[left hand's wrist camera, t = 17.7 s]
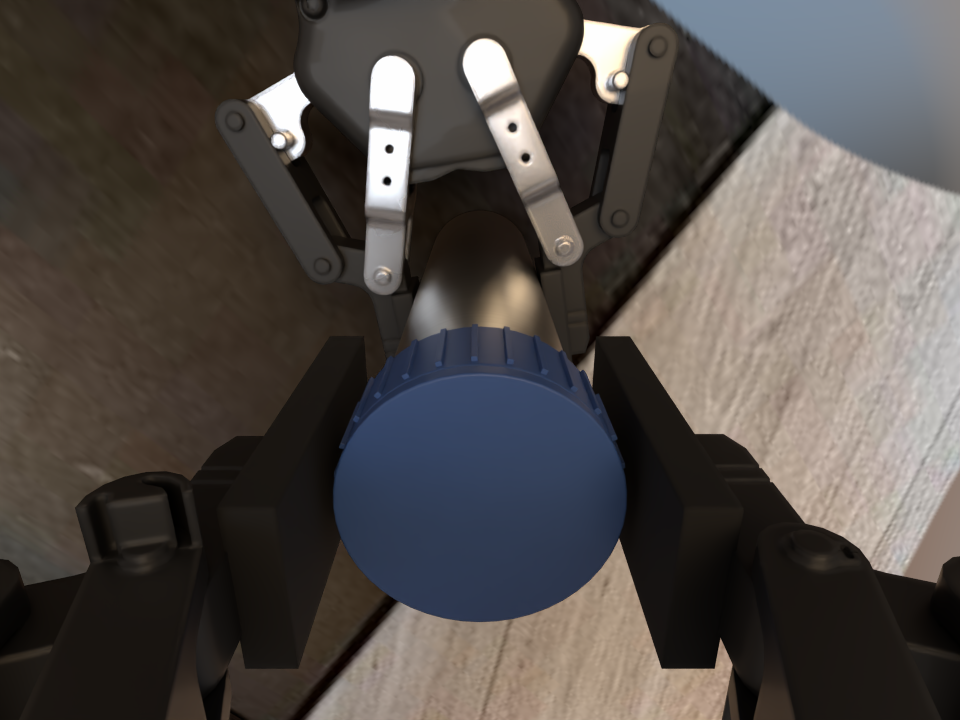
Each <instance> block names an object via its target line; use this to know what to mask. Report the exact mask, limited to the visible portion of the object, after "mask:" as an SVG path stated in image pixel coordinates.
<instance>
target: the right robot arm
mask: <svg viewBox="0 0 960 720" xmlns="http://www.w3.org/2000/svg"><path fill="white" fill-rule="evenodd" d="M295 3H296V7H297V11H298V17H299V37H298V43H297V48H296V51H295V55H294V73H293V74H291V75H290V76H288V77H286V78H285V79H283V80H281V81H279V82H278V83H276V84H274V85H273V86H271V87H269V88H267V89H266V90H264V91H262V92H261V93H259V94H257V95H255V96H254V97H252V98H250V99H248V100H240V99H229V100H226V101H224V102H222V103H221V104H220V105H219V106H218V108H217V110H216V113H215V123H216V127H217V129H218V131H219V133H220V134H221V136H222V138H223V139H224V141H225V142H226V144H227V146H228V147H229V149H230V151H231V152H232V154H233V155H234V157H235V159H236V160H237V162H238V164H239V165H240V167H241V168H242V170H243V172H244V173H245V175H246V177H247V178H248V180H249V181H250V183H251V185H252V186H253V188H254V190H255V191H256V193H257V194H258V196H259V198H260V199H261V201H262V203H263V204H264V206H265V207H266V209H267V211H268V212H269V214H270V216H271V217H272V219H273V220H274V222H275V224H276V225H277V227H278V229H279V230H280V232H281V233H282V235H283V237H284V238H285V240H286V241H287V243H288V245H289V246H290V248H291V250H292V251H293V253H294V254H295V256H296V258H297V259H298V261H299V263H300V264H301V266H302V267H303V269H304V271H305V272H306V274H307V275H308V277H309V278H310V279H311V280H313V281H314V282H316V283H319V284H330V283H333V282H338V283H344V284H349V285H354V286H357V287H360V288H361V289H363V290H364V291H366V292H367V293H368V294H369V296H370V297H371V299H372V301H373V304H374V308H375V313H376V317H377V321H378V325H379V330H380V334H381V338H382V341H383V347H384V351H385V355H386V360H387V359H388V358H389V357H390V356H392V357H393V358H394V357H395V354H396V351H397V349H398V346H399V343H400V340H401V337H402V334H403V331H404V328H405V325H406V323H407V320H408V317H409V314H410V311H411V308H412V305H413V302H414V299H415V297H416V294H417V291H418V288H419V285H420V284H419V280H418V276H417V277H411V274H410V269H409V262H410V250H411V239H412V227H413V216H414V210H415V204H416V195H417V183H421V182H427V181H433V180H435V179H437V178H439V177H441V176H443V175H445V174H448V173H450V172H452V171H454V170H457V169H462V170H472V171H481V172H486V171H492V170H498V169H503V168H507V169H508V171H509V173H510V176H511V178H512V180H513V182H514V185H515V187H516V189H517V191H518V194H519V196H520V198H521V200H522V202H523V205H524V207H525V209H526V211H527V214H528V216H529V218H530V220H531V222H532V225H533V227H534V229H535V231H536V234H537V236H538V243H539V251H540V257H538V258H535V265H536V272H537V277H538V280H539V283H540V286H541V289H542V291H543V294H544V297H545V300H546V303H547V306H548V309H549V312H550V315H551V317H552V320H553V323H554V326H555V329H556V332H557V335H558V338H559V341H560V344H561V346H562V349H563V351H564V352H565V353H566V355H567V358H568V360H569V361H570V362H572V355H574V354H580V353H585V351H586V348H587V345H588V342H589V329H588V319H587V311H586V301H585V291H584V282H583V272H582V267H583V262H584V259H585V257H586V256H587V254H588V253H589V252H590V251H591V250H592V249H593V248H595V247H596V246H598V245H600V244H602V243H604V242H605V241H607V240H609V239H611V238H613V237H615V238H621V237H625V236H627V235H629V234H630V233H632V232H633V231H634V230H635V228H636V227H637V225H638V222H639V218H640V213H641V209H642V205H643V200H644V196H645V192H646V188H647V183H648V179H649V175H650V170H651V166H652V162H653V157H654V153H655V149H656V144H657V140H658V136H659V131H660V127H661V123H662V118H663V114H664V110H665V105H666V101H667V97H668V92H669V88H670V84H671V79H672V75H673V71H674V67H675V62H676V58H677V54H678V49H679V40H678V36H677V34H676V32H675V30H674V29H673V28H672V27H671V26H669V25H667V24H665V23H654V24H652V25H648V26H645V27H643V28H633V27H627V26H620V25H614V24H608V23H602V22H595V21H589V20H584V19H583V15H582V12H581V9H580V7H579V5H578V3H577V2H576V0H295ZM576 58H579V59H581V60H583V61H584V62H585V63H586V64H587V66H588V68H589V70H590V73H591V90H592V93H593V95H594V96H595V98H596V99H597V100H599V101H600V102H602V103H606V104H608V106H607V111H606V116H605V121H604V126H603V131H602V136H601V141H600V146H599V151H598V156H597V161H596V166H595V171H594V176H593V181H592V186H591V191H590V196H589V198H588V199H587V200H585V201H583V202H581V203H579V204H578V205H576V206H574V207H572V208H570V209H569V207H568V205H567V202H566V200H565V198H564V195H563V193H562V190H561V187H560V184H559V181H558V178H557V176H556V173H555V171H554V169H553V166H552V164H551V162H550V159H549V157H548V154H547V152H546V150H545V147H544V145H543V143H542V140H541V138H540V135H539V131H540V129H541V127H542V125H543V123H544V121H545V119H546V117H547V115H548V113H549V111H550V109H551V107H552V105H553V103H554V101H555V99H556V97H557V95H558V93H559V91H560V89H561V87H562V85H563V83H564V81H565V79H566V77H567V75H568V73H569V71H570V69H571V67H572V65H573V63H574V61H575V59H576ZM313 106H315V107H316V108H317V109H318V110H319V111H320V112H321V113H322V114H323V115H324V116H325V117H326V118H327V119H328V120H329V121H330V122H331V123H332V124H333V125H334V126H335V127H336V128H337V129H338V130H339V131H340V132H341V133H342V134H343V135H344V136H345V137H346V138H347V139H348V140H349V141H351V142H352V143H353V144H354V145H355V146H356V147H357V148H358V149H359V150H360V151H361V152H362V153H363V154H364V155H365V156H366V157H367V158H368V164H367V182H366V199H365V218H366V222H367V228H366V241H363V240H357V239H352V238H351V237H350V236H349V234H348V232H347V230H346V229H345V227H344V225H343V223H342V222H341V220H340V218H339V216H338V215H337V213H336V211H335V210H334V208H333V206H332V204H331V203H330V201H329V199H328V197H327V196H326V194H325V192H324V190H323V189H322V187H321V185H320V183H319V182H318V180H317V178H316V177H315V175H314V173H313V171H312V170H311V168H310V166H309V164H308V163H307V161H306V159H305V157H304V156H305V155H307V154H308V153H309V151H310V150H311V147H312V142H313V139H312V134H311V131H310V129H309V125H308V116H309V113H310V110H311V109H312V107H313Z"/></svg>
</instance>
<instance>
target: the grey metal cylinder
mask: <svg viewBox="0 0 960 720" xmlns="http://www.w3.org/2000/svg"><path fill="white" fill-rule="evenodd" d="M472 324H478V327H480V326H482V327H496V328H504V326H507V327H510V330H513V331H517V332H520V333H523V334H526V335H529V336H532V337H534V335H537V336H539V337H540V340H541V341H542V342H544V343H546V344H548V345H549V346H551V347H552V348H554V349H555V350H557V351H559V352H560V351H561V350H563V349H562V346H561V344H560V341H559V338H558V335H557V332H556V329H555V326H554V323H553V320H552V317H551V315H550V312H549V309H548V306H547V303H546V300H545V297H544V294H543V291H542V289H541V286H540V283H539V280H538V277H537V274H536V271H535V268H534V265H533V262H532V260H531V257H530V254H529V251H528V248H527V245H526V242H525V239H524V237H523V236H522V234H521V232H520V231H519V229H518V228H517V227H516V226H515V225H514V224H513V223H512V222H511V221H510V220H508V219H507V218H505V217H504V216H501V215H499V214H497V213H494V212H490V211H480V210H478V211H470V212H466V213H463V214H461V215H458V216H457V217H455V218H453V219H452V220H450V221H449V222H448V223H447V224H446V225H445V226H444V227H443V228H442V229H441V231H440V232H439V234H438V235H437V237H436V240H435V242H434V245H433V247H432V250H431V253H430V256H429V259H428V262H427V265H426V268H425V271H424V273H423V276H422V279H421V282H420V285H419V288H418V291H417V294H416V297H415V299H414V302H413V305H412V308H411V311H410V314H409V317H408V320H407V323H406V325H405V328H404V331H403V334H402V337H401V340H400V343H399V346H398V349H397V351H396V354H395V356H396V355H398V354H399V353H400V352H401V351H403V350H404V349H406V348H407V347H409V346H410V345H411V342H412V341H413V340H415V339H417V340H418V341H420V340H422V339H424V338H426V337H428V336H431V335H434V334H437V333H440V330H441V329H444V328H446V329H447V330H452V329H457V328H463V327H472Z"/></svg>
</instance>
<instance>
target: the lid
mask: <svg viewBox="0 0 960 720" xmlns="http://www.w3.org/2000/svg"><path fill="white" fill-rule="evenodd" d="M617 439H618V438H617V436H616V434H615V431H614V429H613V426H612V424H611V422H610V419H609V417H608V415H607V412H606V410H605V407H604V405H603V403H602V400H601V398H600V396H599V394H596V395H595V394H594V391H593V389H592V386H591V384H590V382H589V379H588V377H587V374H586V373H585V371H584V370H582V371H581V372H580V371H579V370H578V369H577V368H576V367H575V366H574V364H573V363H572V362H570V361H569V360H568V358H567V355H566V353H565V352H564V351H563V350H561V351H560V352H559V351H557V350H555V349H554V348H552V347H551V346H549V345H548V344H546V343H544V342H542V341H541V340H540V337H539V336H537V335H534V337H532V336H529V335H526V334H523V333H520V332H517V331H513V330H510V327H507V326H504V328H496V327H482V326H480V327H478V324H472V327H463V328H457V329H452V330H447V329H446V328H444V329H441V330H440V333H437V334H434V335H431V336H428V337H426V338H424V339H422V340H420V341H418V340H417V339H415V340H413V341H412V342H411V345H410V346H409V347H407V348H406V349H404V350H403V351H401V352H400V353H399V354H398V355H396V356H395V357H394V358H393V357H392V356H390V357H389V358H388V359H387V361H386V364H385V366H384V368H383V369H382V370H381V371H380V372H379V373H378V375H377V376H376V378H375V379H374V378H372V377H371V378H370V379H369V381H368V383H367V386H366V388H365V391H364V393H363V395H362V398H361V400H360V402H359V401H358V403H357V405H356V407H355V410H354V412H353V415H352V417H351V419H350V422H349V424H348V426H347V429H346V431H345V434H344V436H343V438H342V441H341V443H340V446H339V448H340V449H343V451H342V454H341V456H340V459H339V461H338V464H337V466H336V469H335V471H334V477H335V478H334V485H333V509H334V515H335V521H336V525H337V528H338V531H339V534H340V537H341V540H342V542H343V544H344V546H345V547H346V549H347V551H348V553H349V555H350V556H351V558H352V559H353V561H354V562H355V564H356V565H357V567H358V568H359V569H360V570H361V571H362V572H363V573H364V574H365V575H366V577H367V578H368V579H369V580H370V581H372V582H373V583H374V584H375V585H376V586H377V587H379V588H380V589H381V590H382V591H384V592H385V593H387V594H388V595H390V596H391V597H393V598H394V599H396V600H397V601H399V602H401V603H403V604H405V605H407V606H409V607H411V608H414V609H416V610H419V611H421V612H424V613H427V614H430V615H434V616H437V617H441V618H446V619H452V620H458V621H470V622H491V621H501V620H508V619H515V618H518V617H522V616H526V615H530V614H533V613H536V612H539V611H541V610H544V609H547V608H549V607H551V606H553V605H555V604H557V603H559V602H561V601H563V600H564V599H566V598H567V597H569V596H570V595H572V594H573V593H575V592H576V591H578V590H579V589H580V588H581V587H583V586H584V585H585V584H586V583H587V582H589V581H590V580H591V579H592V577H593V576H594V575H595V574H596V573H597V572H598V571H599V570H600V569H601V568H602V566H603V565H604V563H605V562H606V561H607V559H608V558H609V556H610V555H611V553H612V551H613V549H614V547H615V545H616V543H617V542H618V539H619V536H620V533H621V531H622V528H623V525H624V520H625V515H626V510H627V486H626V478H625V473H624V470H623V468H625V463H624V460H623V458H622V455H621V453H620V450H619V448H618V445H617V443H616V441H615V440H617Z"/></svg>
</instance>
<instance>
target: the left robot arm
mask: <svg viewBox="0 0 960 720" xmlns="http://www.w3.org/2000/svg"><path fill="white" fill-rule="evenodd" d="M366 386H367V372H366V359H365V345H364V336H330V337H329V339H328V340H327V342H326V344H325V345H324V347H323V348H322V350H321V351H320V353H319V354H318V356H317V357H316V359H315V360H314V362H313V363H312V365H311V366H310V368H309V369H308V371H307V372H306V374H305V375H304V377H303V378H302V380H301V381H300V383H299V384H298V386H297V387H296V389H295V390H294V392H293V393H292V395H291V396H290V398H289V399H288V401H287V402H286V404H285V405H284V407H283V408H282V410H281V411H280V413H279V414H278V416H277V417H276V419H275V420H274V422H273V423H272V425H271V426H270V428H269V429H268V431H267V432H266V434H265V435H264V436H236V437H235V438H233V439H232V440H230V441H229V442H227V443H225V444H224V445H222V446H221V447H219V448H218V449H216V450H214V452H213V453H212V454H211V455H210V457H209V458H208V459H207V461H206V462H205V463H204V464H203V466H202V467H201V470H199V471H198V472H197V473H196V475H195V476H194V477H193V479H192V480H191V482H190V481H189V480H188V479H187V478H185V477H184V476H183V475H180V474H176V473H171V472H166V471H165V472H145V473H140V474H135V475H131V476H126V477H123V478H120V479H118V480H115V481H112V482H110V483H107V484H105V485H103V486H101V487H99V488H98V489H96V490H95V491H93V492H91V493H90V494H88V495H86V496H85V497H84V499H83V500H82V501H81V502H80V503H79V504H78V505H77V506H76V507H75V510H76V513H77V517H78V520H79V524H80V527H81V531H82V534H83V538H84V541H85V545H86V548H87V552H88V555H89V559H90V562H91V563H90V565H89V568H88V570H87V572H86V573H82V574H78V575H75V576H70V577H65V578H60V579H55V580H51V581H46V582H41V583H36V584H31V585H26V586H24V584H23V581H22V578H21V575H20V572H19V569H18V567H17V566H15V565H14V564H13V563H11V562H10V561H9V560H3V559H0V720H241V719H240V718H238V717H236V716H235V715H233V714H232V713H230V707H231V698H232V688H231V682H230V676H229V671H228V665H229V663H230V660H231V658H232V656H233V654H234V652H235V649H236V647H237V645H238V643H239V641H240V642H241V647H242V653H243V658H244V664H245V669H298V668H299V665H300V661H301V658H302V655H303V652H304V649H305V646H306V643H307V640H308V637H309V634H310V631H311V628H312V625H313V622H314V619H315V615H316V612H317V609H318V606H319V603H320V600H321V597H322V594H323V591H324V588H325V585H326V582H327V579H328V576H329V572H330V569H331V566H332V563H333V560H334V557H335V554H336V551H337V548H338V545H339V542H340V539H341V537H340V534H339V531H338V528H337V525H336V521H335V515H334V509H333V485H334V478H335V477H334V471H335V469H336V466H337V464H338V461H339V459H340V456H341V454H342V451H343V449H340V448H339V446H340V443H341V441H342V438H343V436H344V434H345V431H346V429H347V426H348V424H349V422H350V419H351V417H352V415H353V412H354V410H355V407H356V405H357V403H358V401H359V402H360V400H361V398H362V395H363V393H364V391H365V388H366ZM592 389H593V391H594V394H595V395H596V394H599V396H600V398H601V400H602V403H603V405H604V407H605V410H606V412H607V415H608V417H609V419H610V422H611V424H612V426H613V429H614V431H615V434H616V436H617V438H618V439H617V440H615V441H616V443H617V445H618V448H619V450H620V453H621V455H622V458H623V460H624V463H625V468H623V470H624V473H625V478H626V486H627V510H626V515H625V520H624V525H623V528H622V531H621V533H620V536H619V539H620V542H621V545H622V548H623V551H624V554H625V557H626V560H627V563H628V566H629V569H630V572H631V576H632V579H633V582H634V585H635V588H636V591H637V594H638V597H639V600H640V603H641V606H642V609H643V612H644V615H645V618H646V622H647V625H648V628H649V631H650V634H651V637H652V640H653V643H654V646H655V649H656V652H657V655H658V658H659V661H660V665H661V668H662V669H715V664H716V658H717V653H718V647H719V642H720V637H721V640H722V642H723V644H724V646H725V648H726V651H727V653H728V655H729V657H730V659H731V662H732V664H733V666H732V671H731V676H730V681H729V686H728V691H727V696H726V701H725V706H724V711H723V716H722V720H960V556H959V557H953V558H951V559H950V560H949V561H947V562H946V563H944V564H943V566H942V569H941V572H940V575H939V578H938V581H937V583H933V582H928V581H923V580H918V579H913V578H908V577H904V576H899V575H894V574H889V573H885V572H881V571H877V570H873V569H872V566H871V564H870V562H869V561H868V559H867V558H866V557H865V556H864V554H863V553H862V552H861V550H860V549H859V548H857V547H856V546H855V545H853V544H852V543H851V542H849V541H848V540H846V539H845V538H844V537H842V536H840V535H837V534H835V533H833V532H831V531H828V530H826V529H824V528H821V527H817V526H812V525H808V524H805V523H804V521H803V520H802V519H801V518H800V516H799V515H798V514H797V513H796V511H795V510H794V509H793V507H792V506H791V505H790V504H789V502H788V501H787V500H786V499H785V497H784V496H783V495H782V494H781V492H780V491H779V490H778V488H777V487H776V486H775V485H774V483H773V482H770V478H769V477H768V476H767V474H766V473H765V472H764V471H763V469H762V468H759V464H758V463H757V462H756V461H755V459H754V458H753V457H752V455H751V454H750V453H749V452H748V450H747V449H746V448H745V447H743V446H741V445H740V444H738V443H737V442H735V441H733V440H732V439H730V438H729V437H727V436H726V435H724V434H694V432H693V431H692V429H691V428H690V426H689V425H688V423H687V422H686V420H685V419H684V417H683V416H682V414H681V413H680V411H679V410H678V408H677V407H676V405H675V404H674V402H673V401H672V399H671V398H670V396H669V395H668V393H667V392H666V390H665V389H664V387H663V386H662V384H661V383H660V381H659V380H658V378H657V377H656V375H655V374H654V372H653V371H652V369H651V368H650V366H649V365H648V363H647V362H646V360H645V359H644V357H643V356H642V354H641V353H640V351H639V350H638V348H637V347H636V345H635V344H634V342H633V340H632V339H631V337H630V336H596V345H595V359H594V372H593V386H592Z"/></svg>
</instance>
